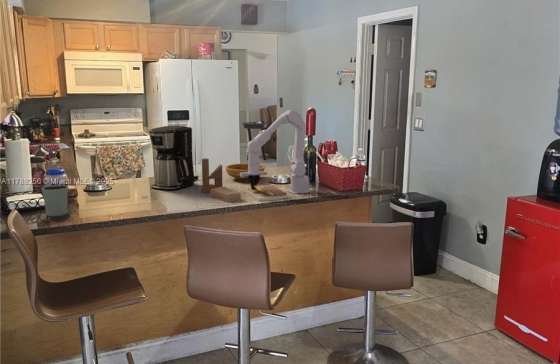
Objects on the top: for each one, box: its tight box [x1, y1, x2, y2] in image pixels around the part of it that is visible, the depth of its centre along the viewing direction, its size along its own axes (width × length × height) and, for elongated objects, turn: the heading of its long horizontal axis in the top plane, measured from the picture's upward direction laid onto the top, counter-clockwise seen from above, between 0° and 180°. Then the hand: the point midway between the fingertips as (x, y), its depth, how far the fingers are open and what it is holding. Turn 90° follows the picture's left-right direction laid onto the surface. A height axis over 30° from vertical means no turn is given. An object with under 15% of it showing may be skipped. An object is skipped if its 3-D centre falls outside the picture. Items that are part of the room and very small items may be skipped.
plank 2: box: [254, 185, 274, 196], centre depth 234 cm, size 8×9×1 cm
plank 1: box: [247, 186, 267, 193], centre depth 242 cm, size 8×9×1 cm
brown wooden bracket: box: [201, 158, 224, 193], centre depth 247 cm, size 4×11×18 cm, turn 115°
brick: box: [210, 186, 242, 203], centre depth 233 cm, size 17×8×5 cm, turn 41°
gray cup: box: [41, 184, 69, 217], centre depth 203 cm, size 10×10×12 cm
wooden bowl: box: [224, 163, 266, 182], centre depth 280 cm, size 30×24×8 cm
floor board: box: [244, 185, 289, 202], centre depth 239 cm, size 16×20×3 cm
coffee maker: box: [148, 125, 201, 191], centre depth 261 cm, size 23×32×34 cm
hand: (253, 189), depth 241 cm, fingers closed, pressing on plank 1
